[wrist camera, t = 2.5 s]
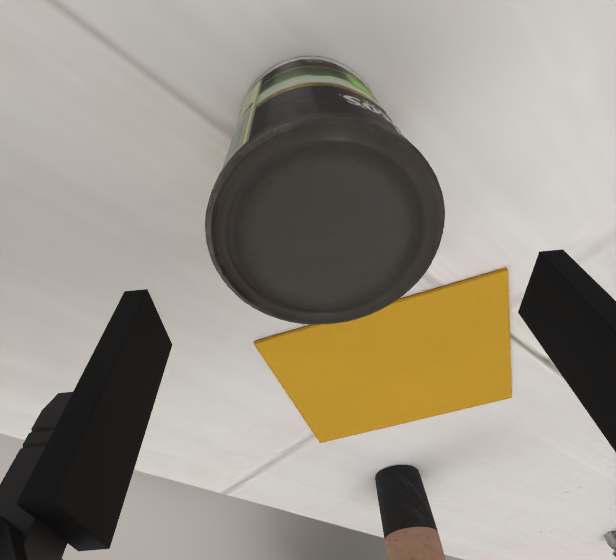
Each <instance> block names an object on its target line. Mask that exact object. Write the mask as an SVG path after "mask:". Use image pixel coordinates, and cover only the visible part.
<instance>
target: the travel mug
mask: <svg viewBox="0 0 616 560" xmlns="http://www.w3.org/2000/svg"><path fill="white" fill-rule="evenodd" d="M375 480H376V488H377V494H378V500H379V507H380V513H381V519H382V526H383V532H384V538H385V544H386V549H387V554H388V559H389V560H445V556H444V553H443V549H442V545H441V542H440V538H439V534H438V532H437V528H436V524H435V521H434V518H433V515H432V512H431V508H430V505H429V502H428V499H427V496H426V492H425V489H424V486H423V483H422V480H421V477H420V474H419V471H418V470H417V469H416V468H415V467H412V466H408V465H397V466H392V467H388V468H386V469H383V470H381V471H380V472H379V473H378V474H377V475H376V478H375Z"/></svg>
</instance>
